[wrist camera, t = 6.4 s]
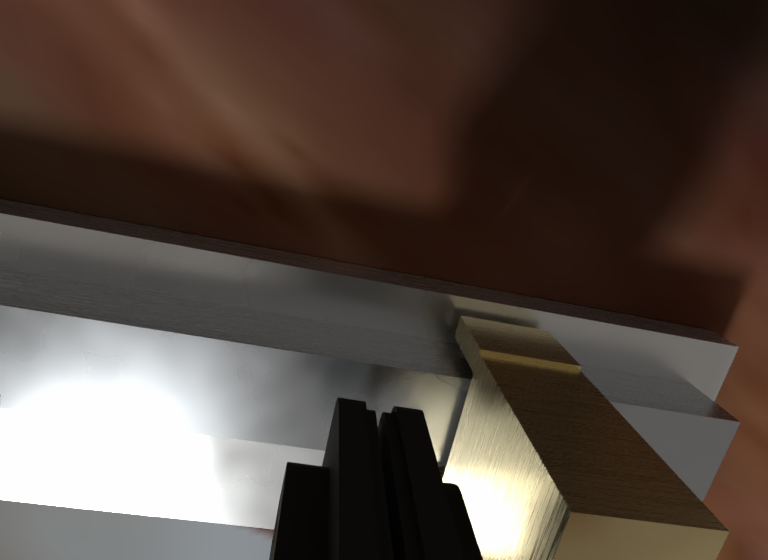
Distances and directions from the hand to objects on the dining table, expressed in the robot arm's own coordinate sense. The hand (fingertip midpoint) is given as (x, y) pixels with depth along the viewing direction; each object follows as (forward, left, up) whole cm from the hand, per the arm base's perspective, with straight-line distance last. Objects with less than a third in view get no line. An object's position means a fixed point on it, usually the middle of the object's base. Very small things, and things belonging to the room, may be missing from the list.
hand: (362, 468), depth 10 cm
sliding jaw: (+2, +3, -4) cm, 5 cm away
